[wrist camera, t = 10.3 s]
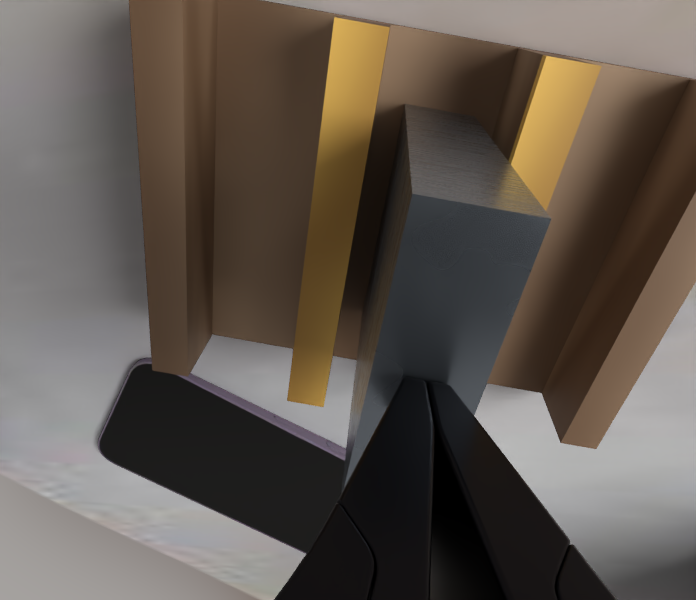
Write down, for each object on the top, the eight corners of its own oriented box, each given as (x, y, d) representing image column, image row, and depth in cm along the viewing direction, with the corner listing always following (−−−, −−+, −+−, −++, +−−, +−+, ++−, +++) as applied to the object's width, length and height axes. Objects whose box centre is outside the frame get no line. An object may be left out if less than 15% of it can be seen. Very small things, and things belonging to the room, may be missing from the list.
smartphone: (137, 352, 20) (438, 505, 23) (150, 337, 21) (437, 486, 24) (91, 454, 24) (357, 578, 26) (103, 437, 25) (358, 559, 27)
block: (474, 116, 14) (552, 218, 7) (418, 321, 17) (431, 523, 11) (404, 103, 14) (412, 193, 7) (362, 311, 17) (339, 506, 10)
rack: (713, 82, 14) (812, 104, 11) (565, 381, 19) (599, 455, 16) (186, -14, 14) (120, -22, 10) (190, 314, 19) (148, 375, 16)
